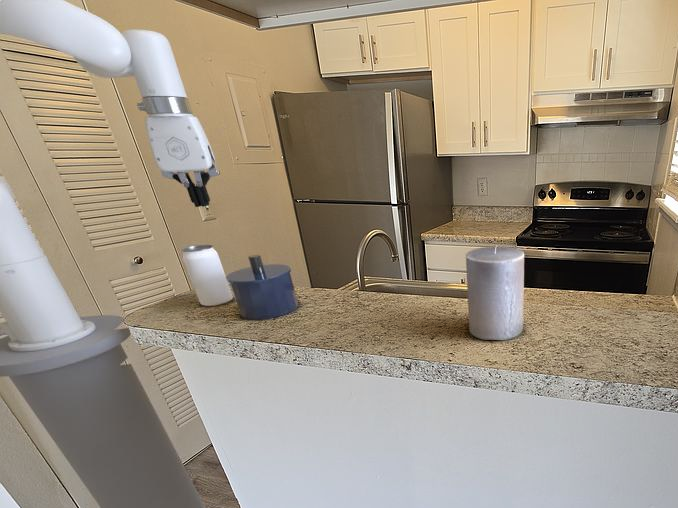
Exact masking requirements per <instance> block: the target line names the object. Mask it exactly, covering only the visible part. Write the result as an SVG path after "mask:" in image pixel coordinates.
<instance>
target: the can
mask: <svg viewBox="0 0 678 508" xmlns="http://www.w3.org/2000/svg"><path fill="white" fill-rule="evenodd" d="M181 251H182V261H183V263H184V266H185V269H186V272H187V274H188V276H189V279H190V282H191V284H192V287H193V289H194V292H195V294H196V297H197V299H198V301H199V304H200V305H202V306H204V307H216V306H217V307H218V306H221V305H225V304H227V303H230V302H231V301H232V300H233V299H234V297H233V296H234V295H233V292H232V289H231V286H230V283H229V282H228V281H227V280H226V276H227V275H226V273H225V270H224V267H223V264H222V262H221V258H220V256H219V253H218V252H217V250H216V249H215V248H214V245H213V244H197V245H192V246H188V247H183V248H182V249H181Z"/></svg>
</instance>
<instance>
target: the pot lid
mask: <svg viewBox="0 0 678 508" xmlns="http://www.w3.org/2000/svg"><path fill="white" fill-rule="evenodd" d="M247 259H248V262H249V265H250V266H249V267H248V266H247V267H244V268H241V269H237V270H235V271H233V272H230V273H229V274H227V275H225V276H226V280H227V281H228V283H229V284H230V283H234V284H252V283H260V282H266V281H270V280H274V279H278V278H281V277H283V276H285V275H287V274H289V273H290V274H291V271H292V269H291V266H289V265H287V264H286V265H285V264H276V263H275V264H264V263H263V260H262V257H261V255H260V254H251V255H248V256H247Z"/></svg>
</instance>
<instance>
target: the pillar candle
mask: <svg viewBox="0 0 678 508" xmlns="http://www.w3.org/2000/svg"><path fill="white" fill-rule="evenodd" d="M524 252H525V251H523V250H521V249H518V248H516V247H509V246H498V245H497V244H495V246H485V247H484V246H483V247H477V248H475V249H471V250H469V251H468V252H466V254H465V265H466V285H467V286H466V289H467V309H468V330H469V333H470V334H471V335H472V336H474V337H475V338H478V339H480V340H486V341H488V340H489V341H490V340H491V341H492V340H493V341H506V340H510V339H513V338H516V337H518V336H519V335H520V334H522V332H523V330H524V295H525V294H524V293H525V292H524V290H525V289H524V288H525V253H524Z"/></svg>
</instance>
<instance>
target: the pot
mask: <svg viewBox="0 0 678 508" xmlns="http://www.w3.org/2000/svg"><path fill="white" fill-rule="evenodd" d="M229 286H230V289H231V292H232V295H233V296H234V299H235V302H236V305H237V308H238V311H239V313H240V316H241V317H242V318H244V319H247V320H255V321H256V320H259V321H260V320H269V319H273V318H278V317H282V316H284V315H287V314H289V313H291V312H293V311H295V310H296V309H297V308H298V306H299V303H298V302H299V301H298V298H297V294H296V291H295V285H294V283H293V279H292V275H291V272H290V273H289V274H287V275H285V276H283V277H281V278H278V279H274V280H270V281H266V282H260V283H252V284H234V283H230V282H229Z"/></svg>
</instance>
